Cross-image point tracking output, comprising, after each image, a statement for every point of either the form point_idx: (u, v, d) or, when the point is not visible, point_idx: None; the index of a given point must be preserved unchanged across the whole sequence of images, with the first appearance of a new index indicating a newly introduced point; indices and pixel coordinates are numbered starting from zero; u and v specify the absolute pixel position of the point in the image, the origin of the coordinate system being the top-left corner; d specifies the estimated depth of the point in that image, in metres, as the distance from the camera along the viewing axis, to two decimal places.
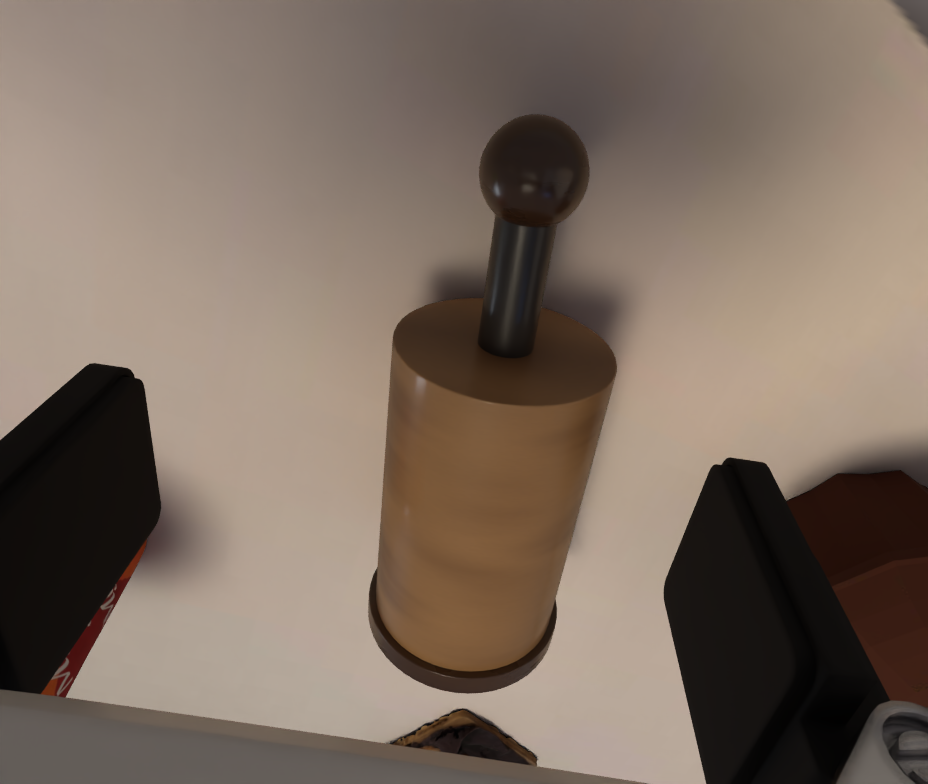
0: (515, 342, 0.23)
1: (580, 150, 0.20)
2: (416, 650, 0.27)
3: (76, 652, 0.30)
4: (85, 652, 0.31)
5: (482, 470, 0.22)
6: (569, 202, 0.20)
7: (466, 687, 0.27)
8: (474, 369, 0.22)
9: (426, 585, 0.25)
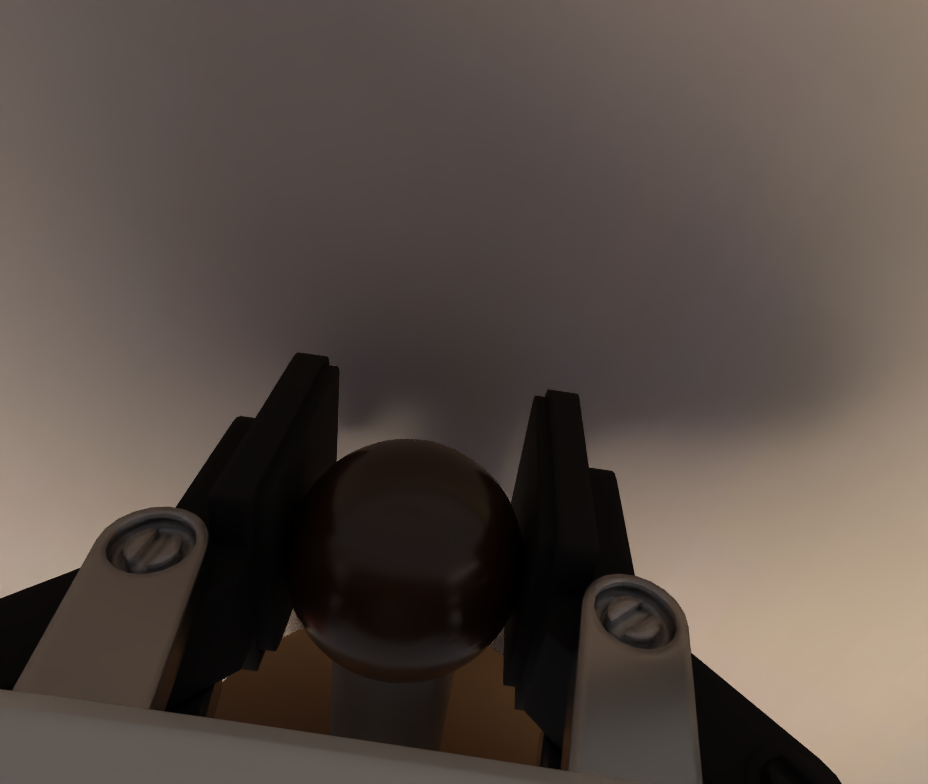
0: None
1: (497, 552, 0.09)
2: None
3: None
4: None
5: None
6: (473, 656, 0.09)
7: None
8: None
9: None
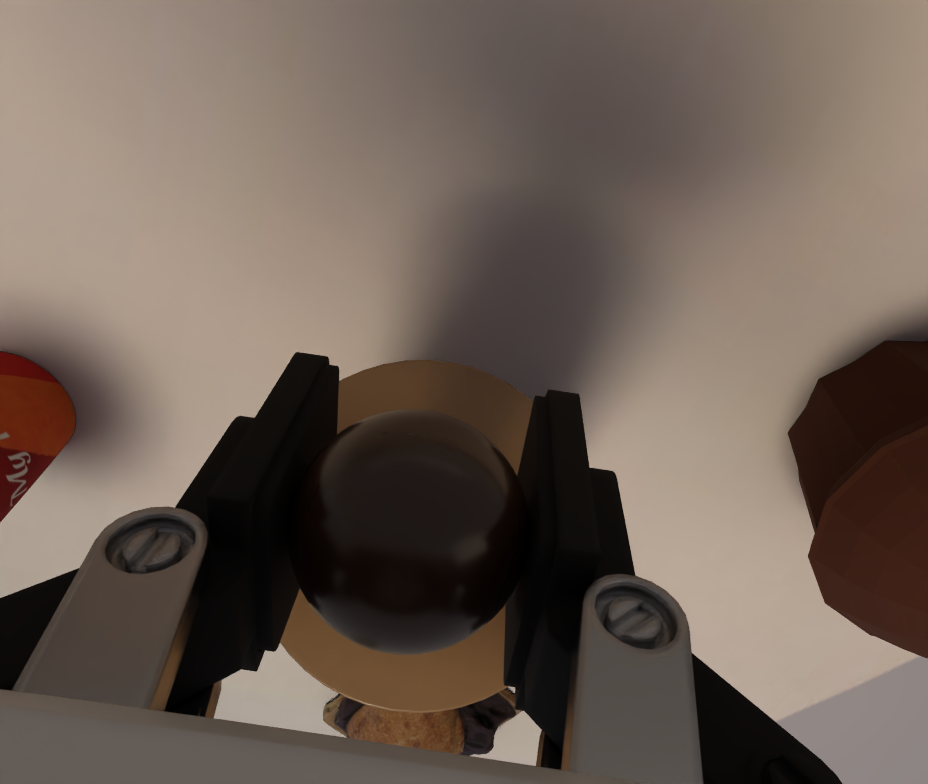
0: None
1: (491, 596, 0.09)
2: None
3: None
4: None
5: None
6: None
7: None
8: None
9: None
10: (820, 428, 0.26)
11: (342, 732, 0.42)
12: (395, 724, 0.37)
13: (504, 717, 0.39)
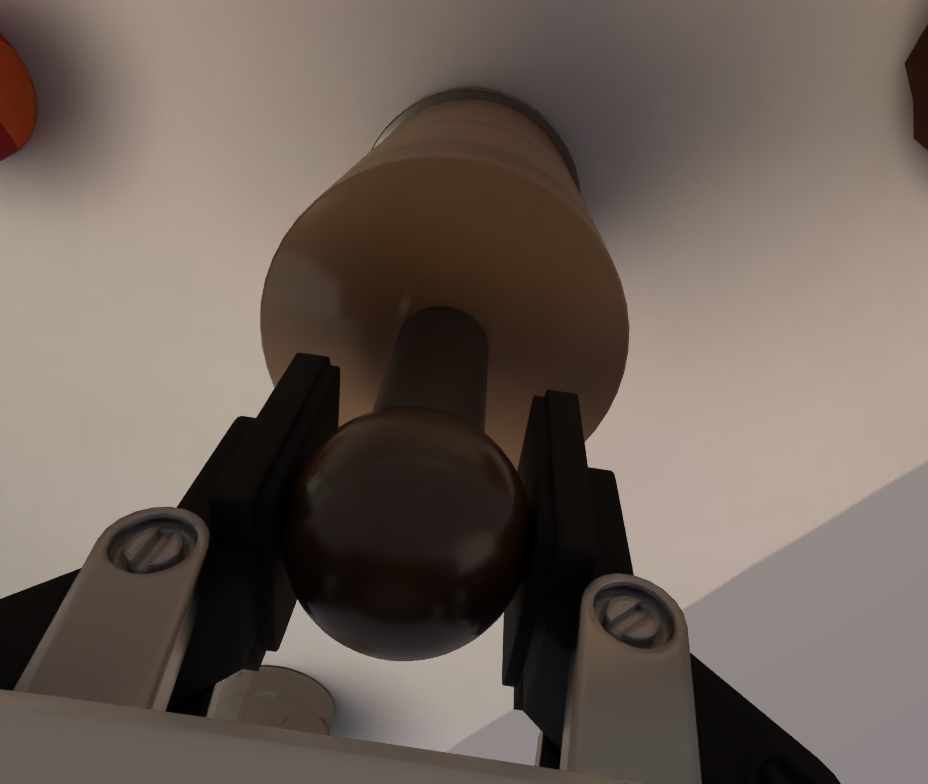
0: None
1: None
2: None
3: None
4: None
5: None
6: None
7: None
8: None
9: None
10: None
11: None
12: None
13: None
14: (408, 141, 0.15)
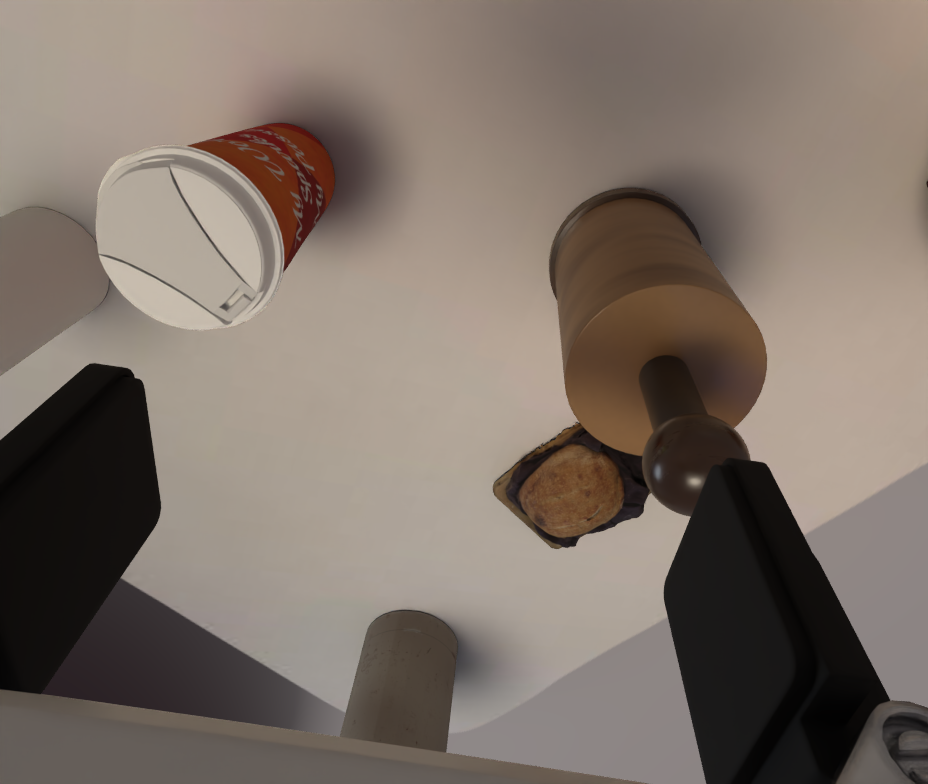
0: None
1: None
2: None
3: (305, 215, 0.32)
4: (307, 228, 0.33)
5: None
6: None
7: None
8: (625, 416, 0.28)
9: None
10: None
11: (508, 506, 0.48)
12: (569, 476, 0.44)
13: None
14: (644, 261, 0.28)
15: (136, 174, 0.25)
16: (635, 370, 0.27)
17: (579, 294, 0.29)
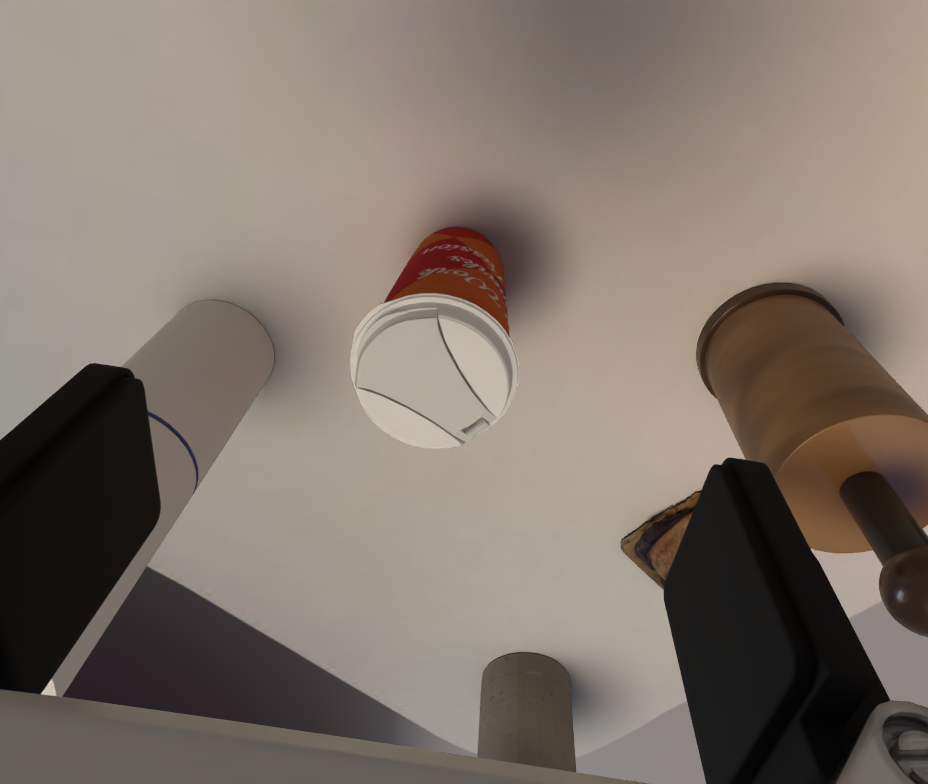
0: None
1: None
2: None
3: None
4: None
5: None
6: None
7: None
8: (821, 520, 0.31)
9: None
10: None
11: (636, 561, 0.51)
12: None
13: None
14: (841, 382, 0.31)
15: (406, 323, 0.28)
16: (837, 483, 0.30)
17: (772, 406, 0.32)
